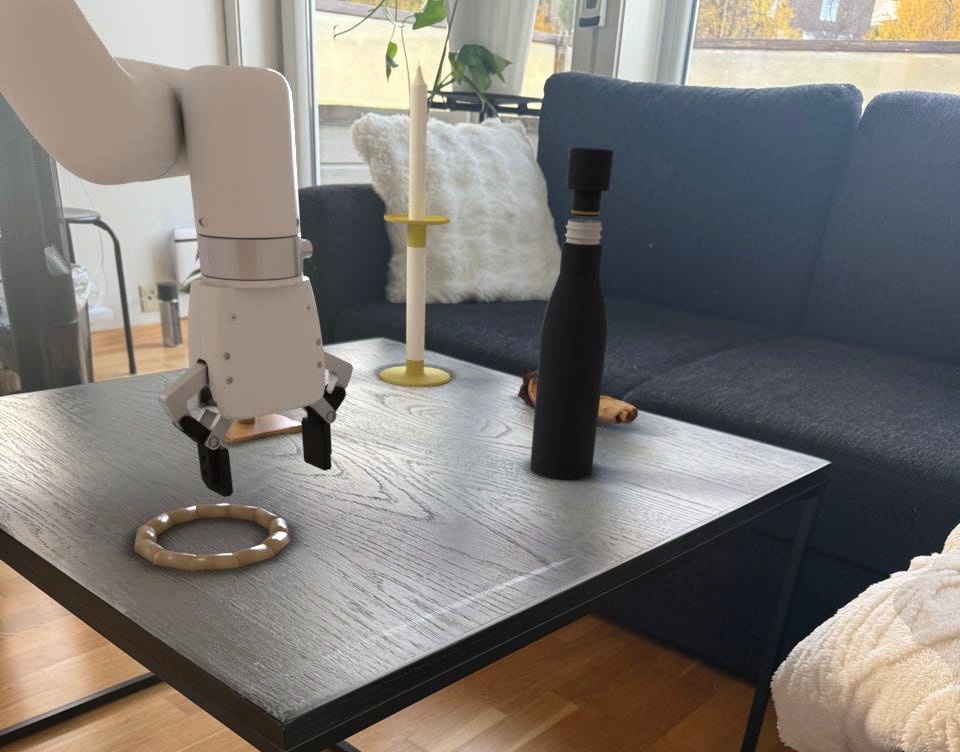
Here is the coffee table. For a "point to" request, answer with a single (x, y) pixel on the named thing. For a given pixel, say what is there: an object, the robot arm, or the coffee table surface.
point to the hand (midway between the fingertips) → (270, 478)
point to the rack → (260, 427)
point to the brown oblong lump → (608, 407)
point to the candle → (416, 249)
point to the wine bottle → (573, 333)
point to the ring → (160, 556)
